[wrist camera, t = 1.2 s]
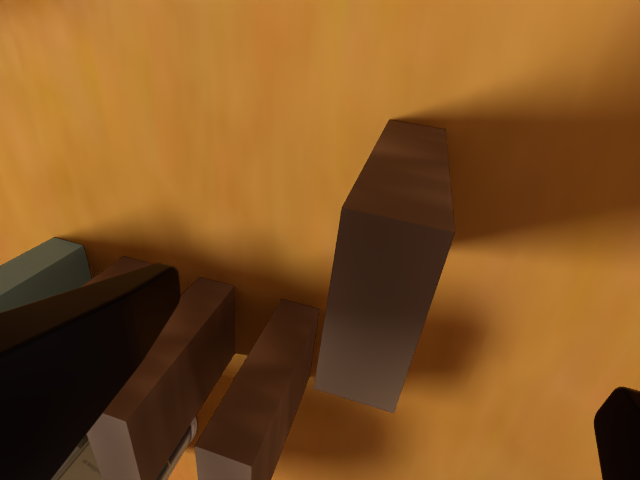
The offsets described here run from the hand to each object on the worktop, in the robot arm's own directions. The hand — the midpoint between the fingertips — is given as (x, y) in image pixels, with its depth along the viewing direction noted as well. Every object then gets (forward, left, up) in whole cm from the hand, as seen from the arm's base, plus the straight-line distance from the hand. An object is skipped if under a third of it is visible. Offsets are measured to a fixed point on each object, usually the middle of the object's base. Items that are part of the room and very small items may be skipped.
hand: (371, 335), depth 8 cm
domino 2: (-2, +10, -8) cm, 13 cm away
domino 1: (0, 0, -8) cm, 8 cm away
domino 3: (+2, +12, -8) cm, 15 cm away
